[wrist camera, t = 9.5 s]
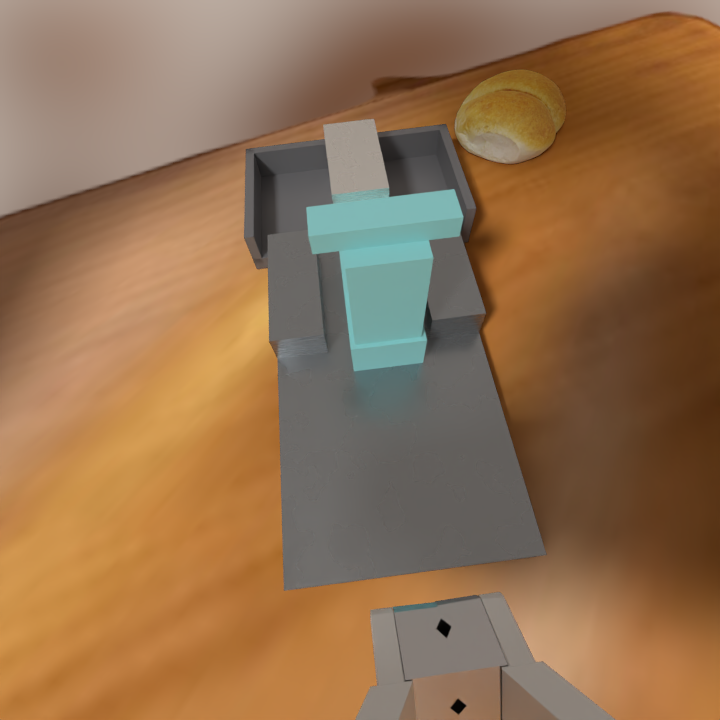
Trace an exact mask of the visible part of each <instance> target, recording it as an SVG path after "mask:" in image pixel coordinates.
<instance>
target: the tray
mask: <svg viewBox="0 0 720 720" xmlns="http://www.w3.org/2000/svg"><path fill="white" fill-rule="evenodd" d="M377 135H378V140H379V144H380V149H381V152H382V156H383V161H384V166H385V170H386V175H387V180H388V184H389V197H393V196H402V195H410V194H418V193H426V192H435V191H443V190H451V189H454V190H455V193H456V196H457V199H458V202H459V205H460V208H461V211H462V214H463V222H462V227H461V231H460V233H461V236H462V240H463V243H464V242H468V240H469V236H470V232H471V228H472V224H473V220H474V216H475V212H476V206H475V203H474V200H473V197H472V195H471V192H470V189H469V186H468V184H467V181H466V178H465V175H464V173H463V170H462V167H461V164H460V162H459V159H458V156H457V153H456V150H455V148H454V145H453V142H452V139H451V137H450V134H449V131H448V128H447V126H446V124H442V125H434V126H426V127H418V128H410V129H402V130H394V131H386V132H378V133H377ZM328 204H333V201H332V193H331V185H330V176H329V168H328V161H327V153H326V144H325V139H322V140H314V141H306V142H298V143H290V144H282V145H274V146H266V147H258V148H251V149H246V171H245V221H244V239H245V241H246V244H247V246H248V248H249V251H250V253H251V256H252V258H253V261H254V263H255V265H256V268H257V269H262V268H268V235H270V234H278V233H286V232H294V231H302V230H308V224H307V210H306V207H311V206H320V205H328Z"/></svg>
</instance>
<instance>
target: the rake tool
mask: <svg viewBox="0 0 720 720" xmlns="http://www.w3.org/2000/svg"><path fill="white" fill-rule="evenodd" d="M306 210H307V224H308V237H309V241H310V246H311V250H312V254H320V253H328V252H336V251H339V254H340V262H341V271H342V279H343V288H344V297H345V305H346V314H347V322H348V331H349V339H350V348H351V355H352V362H353V369H354V371H361V370H369V369H377V368H385V367H393V366H401V365H409V364H417V363H423V360H424V355H425V349H426V343H427V338H426V334H425V329H424V325H423V323H424V316H425V310H426V303H427V297H428V290H429V284H430V277H431V270H432V264H433V254H432V251H431V247H430V243H429V240H434V239H443V238H451V237H459V236H460V231H461V227H462V222H463V214H462V211H461V208H460V205H459V202H458V199H457V196H456V193H455V190H454V189H451V190H443V191H435V192H426V193H418V194H410V195H402V196H393V197H385V198H377V199H369V200H361V201H352V202H344V203H336V204H328V205H320V206H311V207H306Z"/></svg>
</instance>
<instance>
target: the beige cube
mask: <svg viewBox="0 0 720 720" xmlns="http://www.w3.org/2000/svg"><path fill="white" fill-rule="evenodd" d="M327 159H328V167H329V176H330V185H331V193H332V201H333V204H336V203H344V202H352V201H361V200H369V199H377V198H385V197H389V184H388V180H387V175H386V170H385V166H384V161H383V156H382V152H381V151H377V152H369V153H361V154H352V155H344V156H336V157H328V158H327Z"/></svg>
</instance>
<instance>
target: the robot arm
mask: <svg viewBox="0 0 720 720" xmlns="http://www.w3.org/2000/svg"><path fill="white" fill-rule="evenodd" d="M370 619H371V629H372V639H373V649H374V659H375V669H376V679H377V686H372V687H370V689H369V691H368V693H367V695H366V697H365V700H364V702H363V704H362V706H361V708H360V710H359V713H358V715H357V717H356V719H355V720H615V719H614V718H613V717H612V716H610V715H609V714H608V713H607V712H605V711H604V710H603V709H602V708H600V707H599V706H598V705H597V704H595V703H594V702H593V701H592V700H590V699H589V698H588V697H587V696H585V695H584V694H583V693H582V692H580V691H579V690H578V689H577V688H575V687H574V686H573V685H572V684H570V683H569V682H568V681H567V680H565V679H564V678H563V677H562V676H560V675H559V674H558V673H557V672H555V671H554V670H553V669H552V668H550V667H549V666H548V665H547V664H545V663H544V662H543V661H542V662H535V660H534V658H533V655H532V653H531V651H530V649H529V647H528V645H527V643H526V641H525V639H524V637H523V635H522V633H521V631H520V629H519V627H518V624H517V622H516V620H515V618H514V616H513V614H512V612H511V610H510V608H509V606H508V604H507V602H506V600H505V598H504V596H503V595H502V594H501V593H500V592H496V593H489V594H482V595H478V596H477V595H473V596H467V597H460V598H454V599H448V600H441V601H435V602H433V603H424V604H415V605H406V606H397V607H393V609H392V607H391V608H382V609H374V610H371V611H370Z"/></svg>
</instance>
